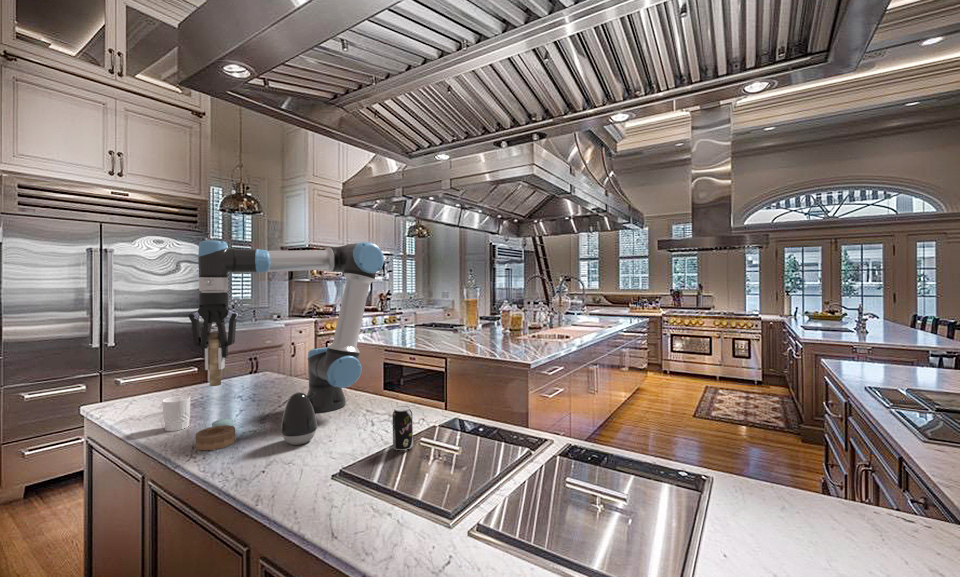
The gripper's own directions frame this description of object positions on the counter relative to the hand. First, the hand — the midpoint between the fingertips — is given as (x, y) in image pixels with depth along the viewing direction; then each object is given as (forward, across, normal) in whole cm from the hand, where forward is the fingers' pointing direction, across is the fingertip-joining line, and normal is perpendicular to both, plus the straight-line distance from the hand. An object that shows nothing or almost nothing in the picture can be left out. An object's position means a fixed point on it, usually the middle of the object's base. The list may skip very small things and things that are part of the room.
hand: (215, 368), depth 130 cm
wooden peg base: (+23, 0, 0) cm, 23 cm away
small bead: (+23, -2, +11) cm, 26 cm away
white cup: (+23, -19, +19) cm, 36 cm away
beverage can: (+23, +56, -17) cm, 63 cm away
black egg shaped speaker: (+23, +25, -4) cm, 34 cm away
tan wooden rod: (+5, 0, 0) cm, 5 cm away
